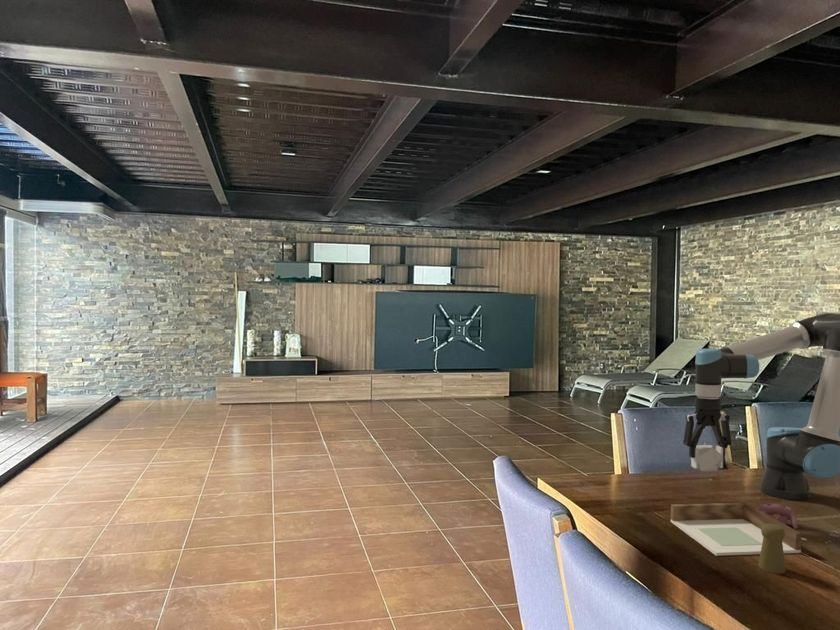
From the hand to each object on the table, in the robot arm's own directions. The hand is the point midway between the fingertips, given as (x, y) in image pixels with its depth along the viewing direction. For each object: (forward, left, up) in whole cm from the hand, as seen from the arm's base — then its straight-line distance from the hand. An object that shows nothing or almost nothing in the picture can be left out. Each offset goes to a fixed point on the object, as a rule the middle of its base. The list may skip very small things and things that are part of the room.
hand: (706, 467), depth 196 cm
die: (0, 0, -1) cm, 1 cm away
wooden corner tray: (+5, +22, -14) cm, 26 cm away
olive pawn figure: (+7, +42, -14) cm, 45 cm away
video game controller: (-14, +14, -14) cm, 25 cm away
